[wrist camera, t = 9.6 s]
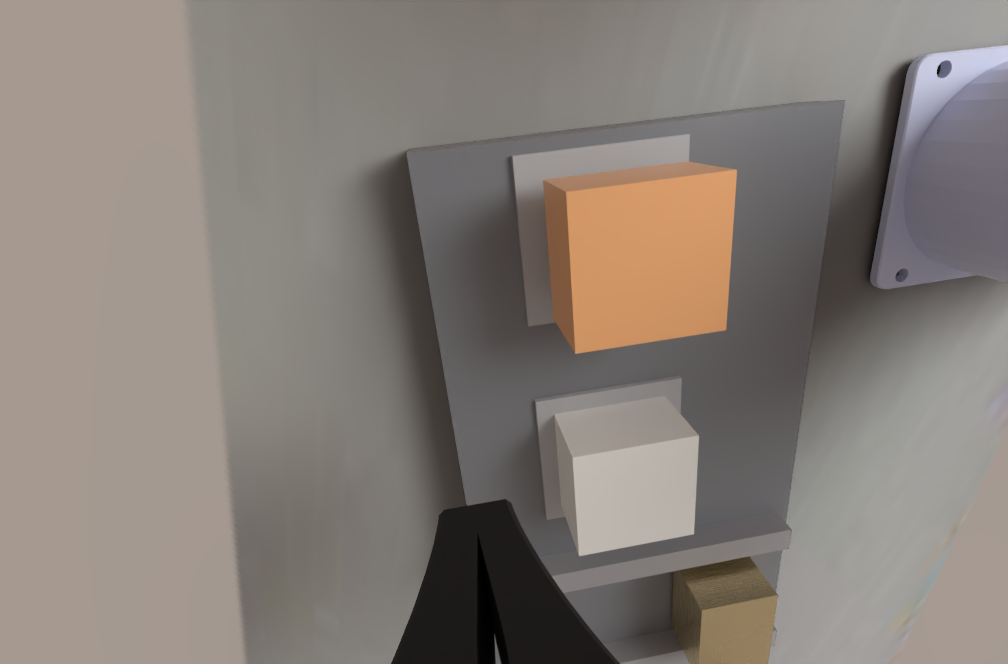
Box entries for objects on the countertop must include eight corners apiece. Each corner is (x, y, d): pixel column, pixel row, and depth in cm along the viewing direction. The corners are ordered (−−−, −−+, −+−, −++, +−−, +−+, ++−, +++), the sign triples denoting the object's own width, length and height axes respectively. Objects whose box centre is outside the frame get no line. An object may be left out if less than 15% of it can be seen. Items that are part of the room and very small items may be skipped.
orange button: (686, 161, 14) (736, 169, 12) (682, 299, 16) (726, 330, 13) (542, 180, 14) (566, 191, 11) (553, 318, 15) (575, 353, 13)
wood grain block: (742, 546, 22) (777, 594, 20) (735, 613, 23) (767, 665, 21) (673, 560, 21) (701, 610, 19) (671, 626, 23) (697, 680, 21)
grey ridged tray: (800, 102, 17) (871, 99, 14) (744, 610, 27) (781, 666, 24) (408, 149, 16) (404, 155, 13) (495, 661, 26) (503, 727, 23)
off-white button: (664, 395, 18) (699, 435, 16) (663, 486, 20) (694, 534, 18) (553, 414, 18) (572, 457, 16) (561, 504, 19) (579, 556, 17)
